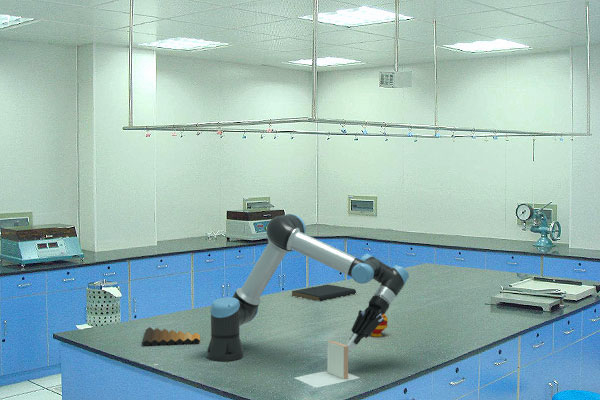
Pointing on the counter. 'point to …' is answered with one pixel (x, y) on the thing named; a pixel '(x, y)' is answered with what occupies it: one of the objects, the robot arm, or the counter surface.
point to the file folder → (323, 292)
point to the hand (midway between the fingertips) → (348, 349)
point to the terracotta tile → (337, 359)
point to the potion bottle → (380, 327)
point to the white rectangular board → (323, 379)
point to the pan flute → (168, 337)
